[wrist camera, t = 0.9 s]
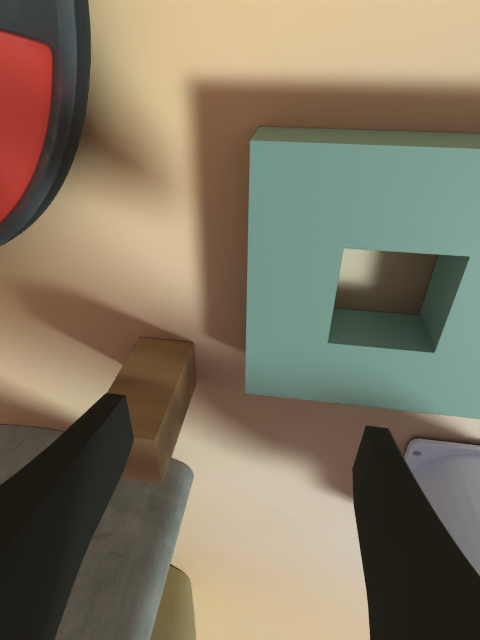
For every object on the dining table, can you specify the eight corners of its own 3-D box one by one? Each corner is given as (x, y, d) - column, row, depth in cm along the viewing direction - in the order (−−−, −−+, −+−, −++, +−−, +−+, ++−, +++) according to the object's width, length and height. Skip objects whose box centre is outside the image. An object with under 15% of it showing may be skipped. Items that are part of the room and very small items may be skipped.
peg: (196, 383, 25) (162, 483, 19) (146, 377, 25) (98, 474, 19) (193, 342, 23) (154, 440, 17) (140, 336, 23) (84, 431, 17)
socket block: (472, 377, 21) (493, 420, 19) (251, 356, 23) (244, 393, 20) (582, 136, 15) (638, 154, 12) (258, 126, 16) (249, 140, 14)
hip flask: (-2, 446, 32) (-328, 866, 16) (-13, 412, 30) (-412, 864, 13) (192, 488, 31) (64, 969, 15) (195, 456, 29) (49, 987, 13)
